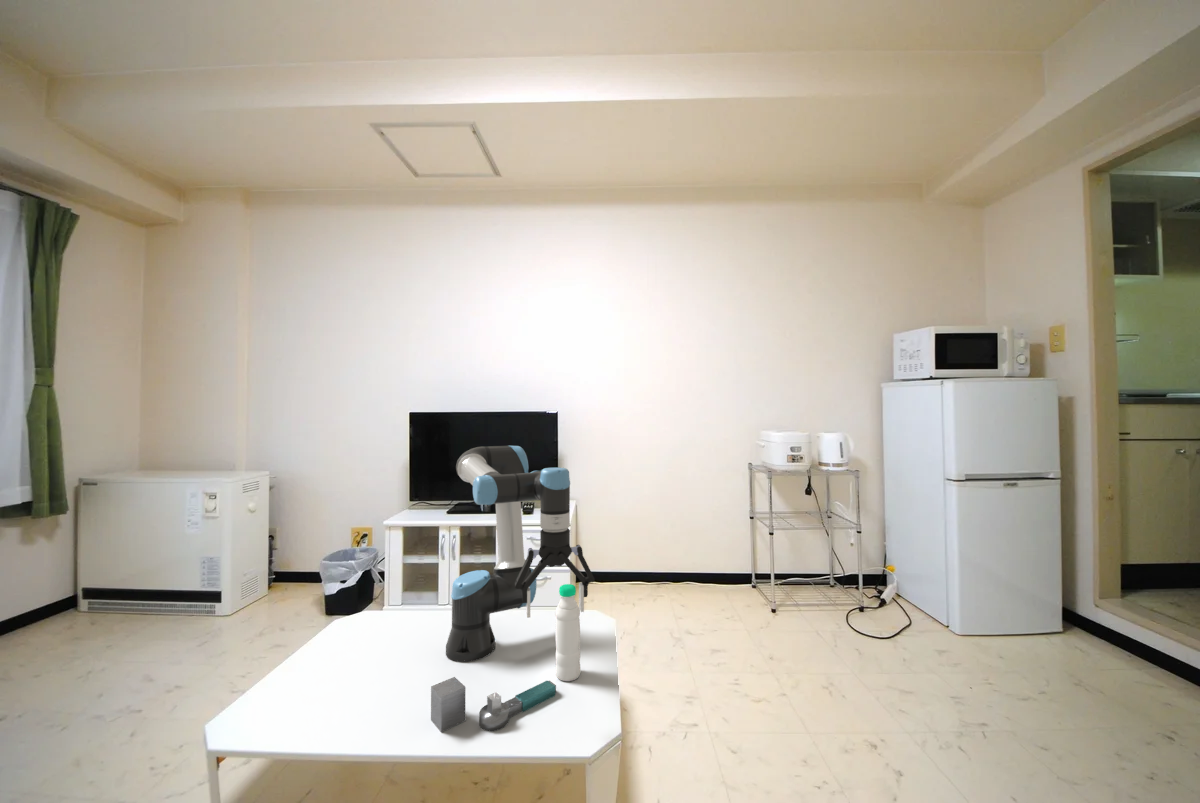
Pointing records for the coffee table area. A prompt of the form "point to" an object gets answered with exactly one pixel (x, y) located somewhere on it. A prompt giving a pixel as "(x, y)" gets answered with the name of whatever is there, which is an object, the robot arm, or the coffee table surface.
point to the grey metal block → (447, 704)
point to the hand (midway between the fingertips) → (555, 612)
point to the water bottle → (567, 635)
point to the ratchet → (513, 705)
